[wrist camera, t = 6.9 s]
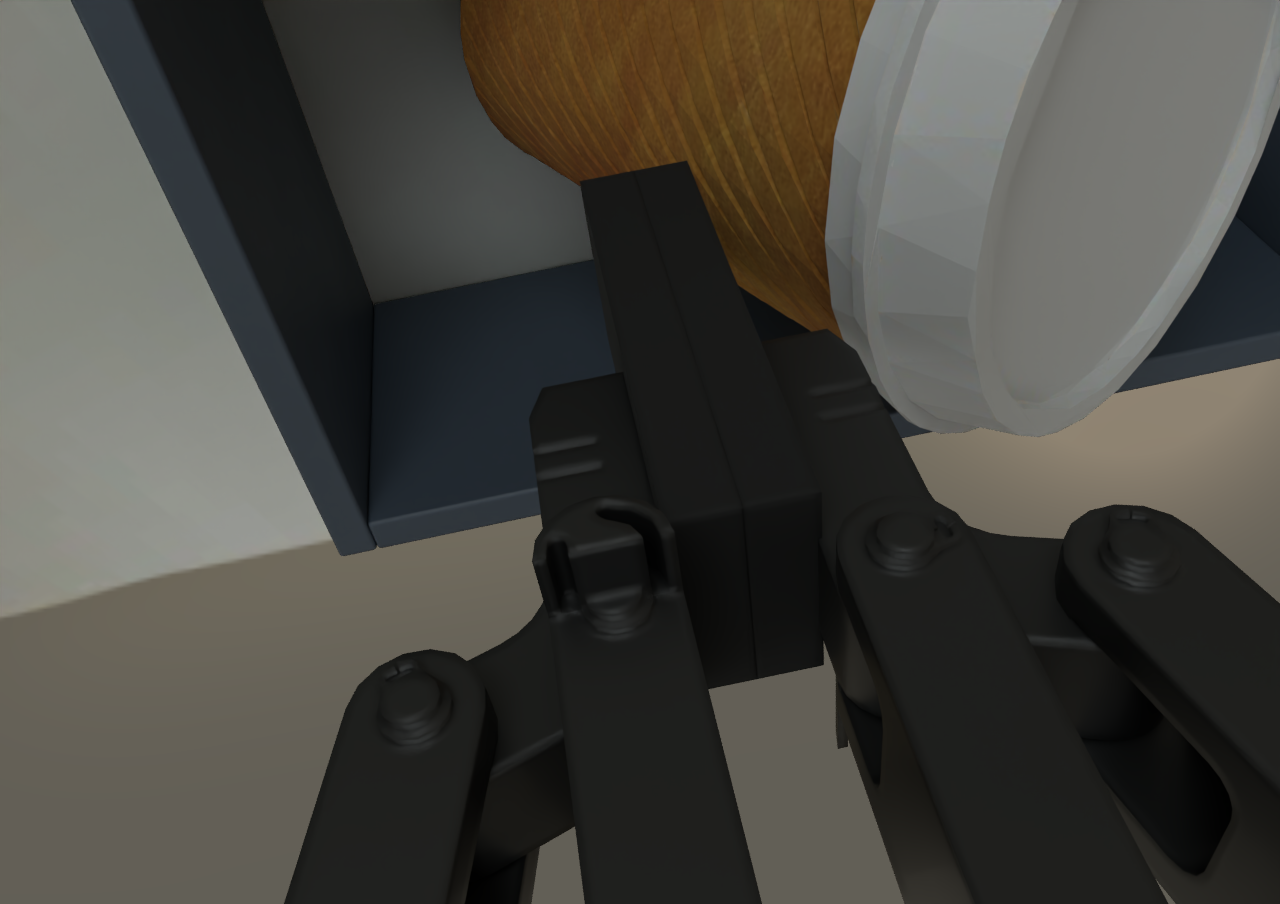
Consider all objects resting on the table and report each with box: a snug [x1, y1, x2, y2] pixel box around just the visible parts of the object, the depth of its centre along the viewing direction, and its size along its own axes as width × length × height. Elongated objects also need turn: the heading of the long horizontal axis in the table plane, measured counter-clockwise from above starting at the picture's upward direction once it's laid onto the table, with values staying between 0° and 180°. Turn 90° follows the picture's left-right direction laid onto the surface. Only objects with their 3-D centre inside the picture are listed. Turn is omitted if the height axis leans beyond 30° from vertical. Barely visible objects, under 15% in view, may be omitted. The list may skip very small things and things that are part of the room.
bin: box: [71, 0, 1280, 556], centre depth 21 cm, size 23×16×8 cm
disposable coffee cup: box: [460, 0, 1280, 437], centre depth 18 cm, size 10×10×12 cm
